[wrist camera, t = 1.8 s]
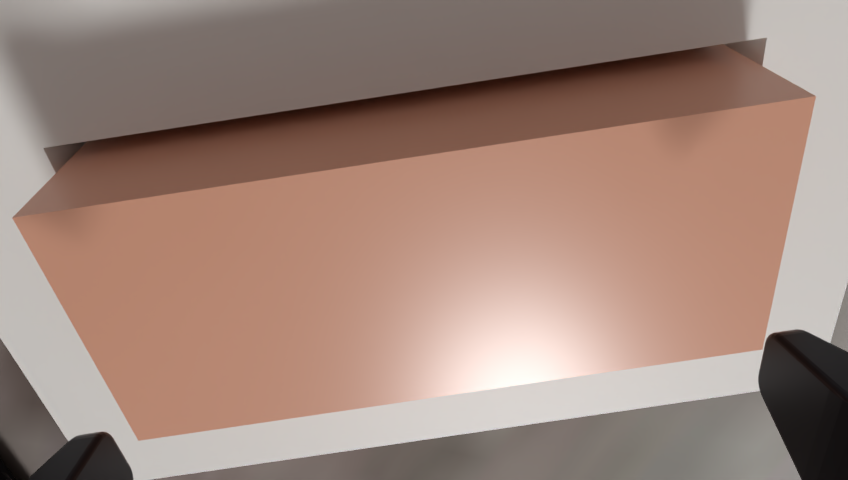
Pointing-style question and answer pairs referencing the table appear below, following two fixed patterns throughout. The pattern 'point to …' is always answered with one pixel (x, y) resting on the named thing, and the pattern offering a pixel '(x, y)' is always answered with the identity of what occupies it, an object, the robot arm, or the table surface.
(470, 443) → the table surface
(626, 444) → the table surface
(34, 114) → the white tray
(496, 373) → the salmon orange rectangular block
